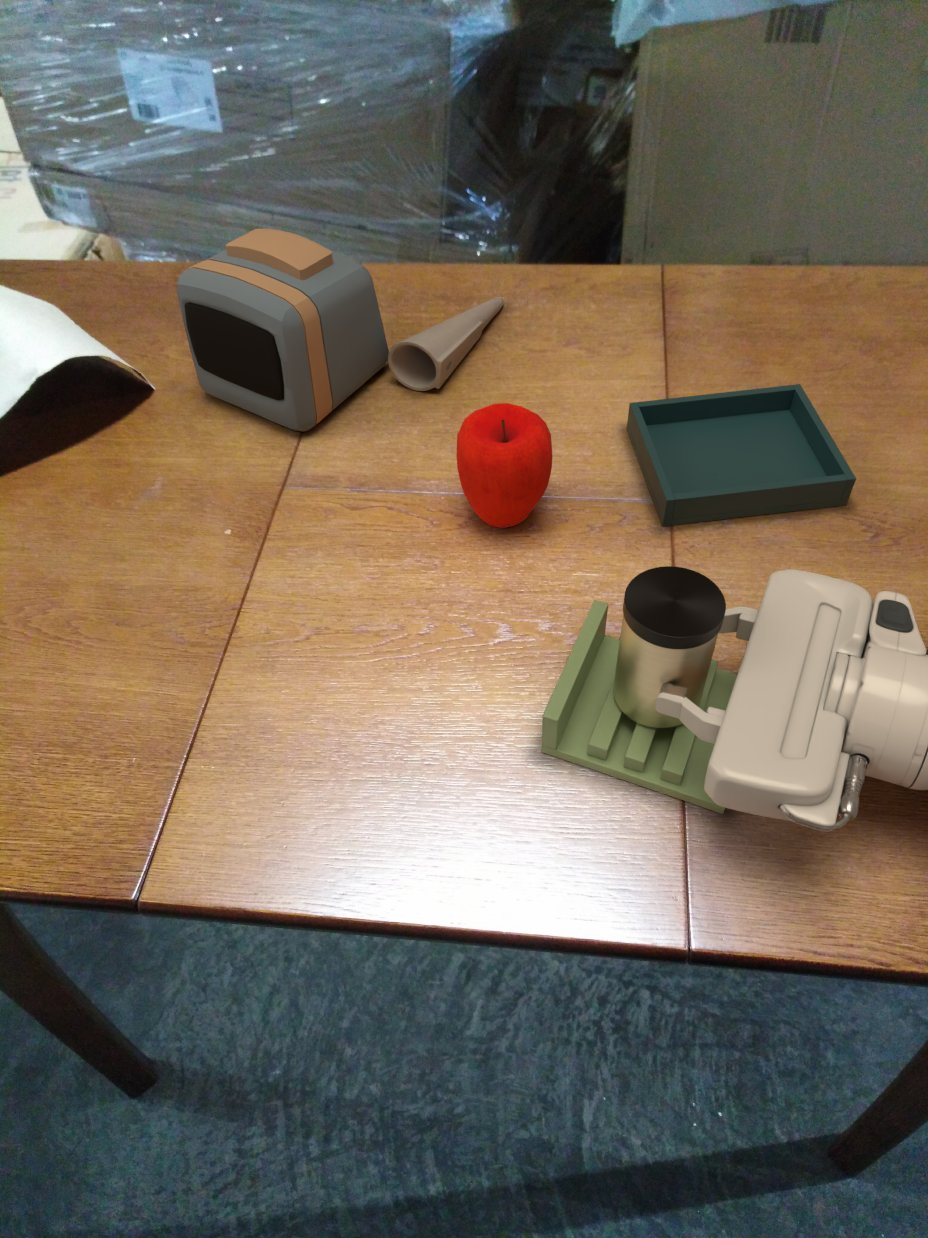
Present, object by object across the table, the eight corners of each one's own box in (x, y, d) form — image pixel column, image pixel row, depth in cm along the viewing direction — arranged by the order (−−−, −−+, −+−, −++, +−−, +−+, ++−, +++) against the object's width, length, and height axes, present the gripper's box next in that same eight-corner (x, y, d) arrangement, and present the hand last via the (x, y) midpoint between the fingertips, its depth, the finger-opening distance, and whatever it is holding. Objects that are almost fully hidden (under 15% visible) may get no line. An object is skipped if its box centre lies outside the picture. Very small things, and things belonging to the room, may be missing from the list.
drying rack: (758, 687, 71) (771, 649, 68) (723, 814, 65) (735, 780, 61) (590, 638, 75) (594, 599, 72) (540, 752, 69) (542, 716, 65)
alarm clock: (195, 396, 100) (149, 262, 88) (290, 325, 108) (261, 193, 96) (307, 444, 94) (275, 307, 81) (398, 364, 102) (382, 228, 90)
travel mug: (686, 654, 71) (708, 561, 63) (713, 723, 66) (740, 631, 59) (602, 664, 70) (613, 571, 63) (623, 734, 66) (638, 643, 58)
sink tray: (792, 410, 93) (800, 383, 91) (846, 505, 84) (856, 478, 82) (626, 428, 93) (629, 402, 90) (662, 526, 83) (666, 500, 81)
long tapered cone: (461, 263, 108) (388, 334, 95) (510, 278, 106) (442, 352, 94) (456, 307, 112) (386, 380, 99) (503, 322, 110) (438, 398, 98)
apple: (569, 521, 84) (574, 429, 76) (491, 558, 82) (487, 468, 74) (518, 469, 89) (517, 378, 81) (442, 503, 87) (434, 412, 79)
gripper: (841, 865, 56) (628, 795, 61) (886, 637, 68) (705, 594, 73) (865, 811, 51) (632, 741, 56) (908, 578, 64) (713, 536, 68)
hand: (674, 656), depth 65 cm, fingers closed on travel mug, 6 cm apart
